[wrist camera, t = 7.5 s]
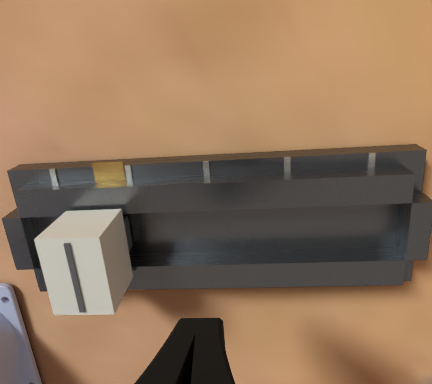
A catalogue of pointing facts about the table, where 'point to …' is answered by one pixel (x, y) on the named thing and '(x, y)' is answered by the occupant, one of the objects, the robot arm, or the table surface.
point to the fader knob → (86, 261)
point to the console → (242, 215)
